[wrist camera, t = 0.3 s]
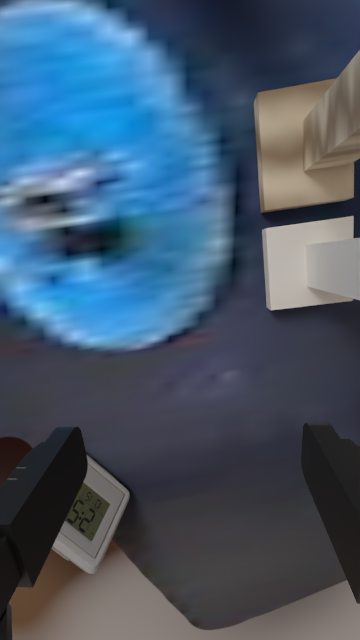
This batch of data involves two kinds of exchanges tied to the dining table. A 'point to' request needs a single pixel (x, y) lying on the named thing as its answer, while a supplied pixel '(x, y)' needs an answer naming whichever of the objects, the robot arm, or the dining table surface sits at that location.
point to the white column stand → (311, 263)
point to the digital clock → (92, 519)
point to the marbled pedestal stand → (308, 141)
